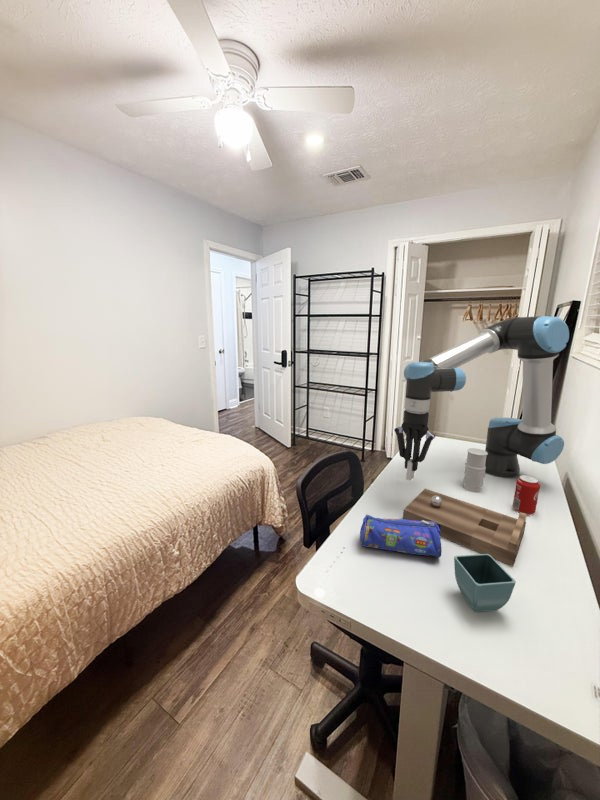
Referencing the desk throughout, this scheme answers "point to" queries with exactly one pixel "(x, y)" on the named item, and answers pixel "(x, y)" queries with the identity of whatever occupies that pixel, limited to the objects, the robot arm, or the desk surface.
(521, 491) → the beverage can
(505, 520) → the board
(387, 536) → the pencil case
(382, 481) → the desk surface
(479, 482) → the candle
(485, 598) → the flower pot
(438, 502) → the ball
